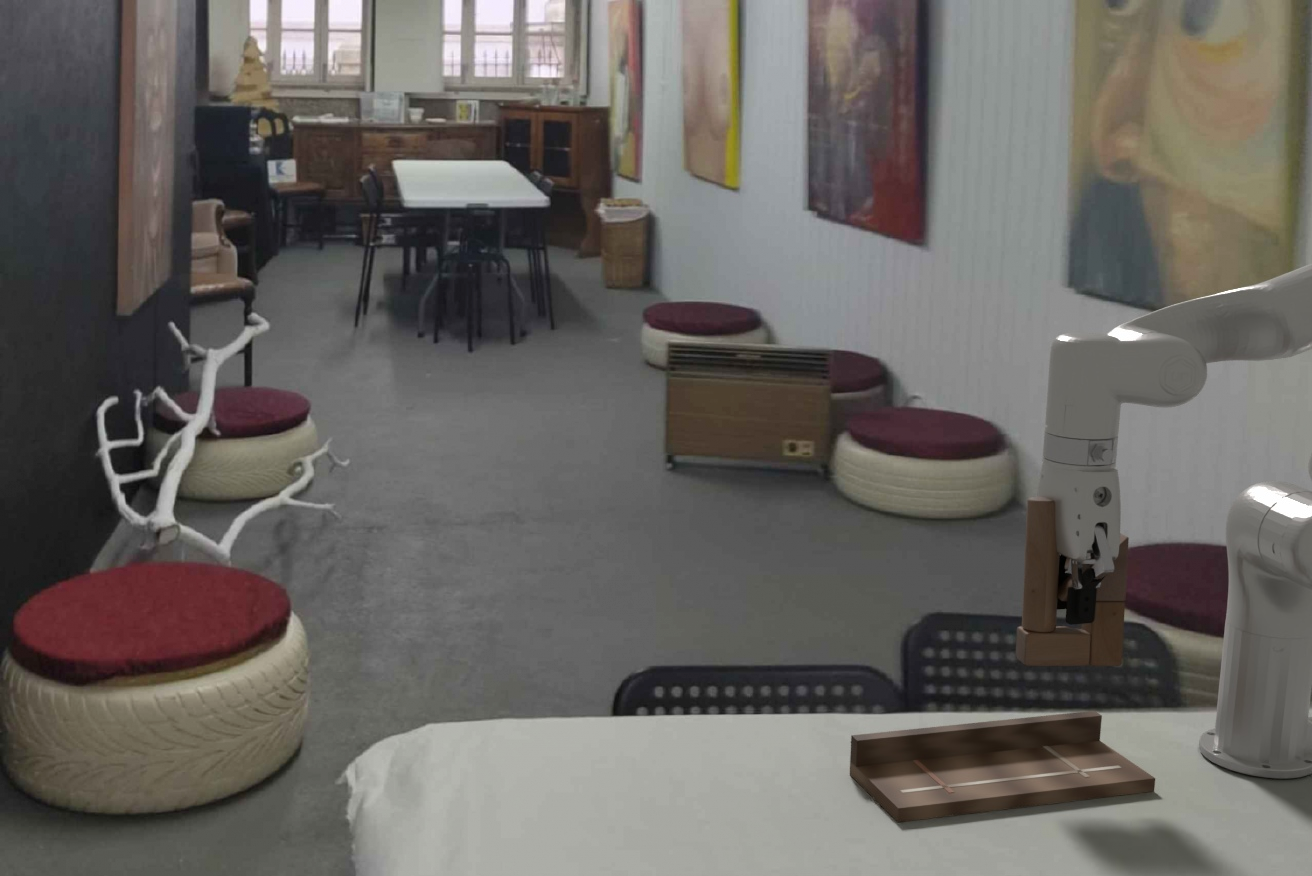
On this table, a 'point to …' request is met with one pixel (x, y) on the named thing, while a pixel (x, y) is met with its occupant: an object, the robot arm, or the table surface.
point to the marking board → (992, 766)
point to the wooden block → (1041, 590)
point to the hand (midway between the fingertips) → (1067, 614)
